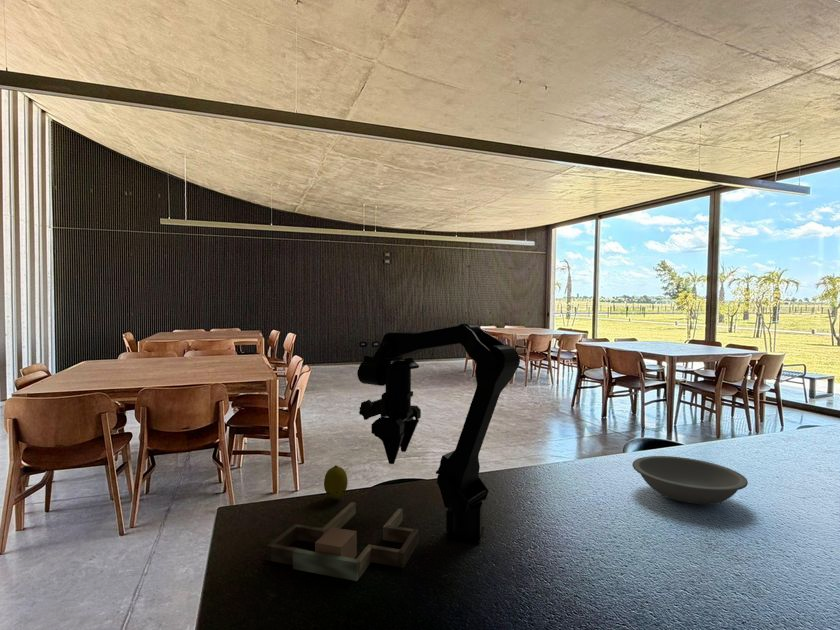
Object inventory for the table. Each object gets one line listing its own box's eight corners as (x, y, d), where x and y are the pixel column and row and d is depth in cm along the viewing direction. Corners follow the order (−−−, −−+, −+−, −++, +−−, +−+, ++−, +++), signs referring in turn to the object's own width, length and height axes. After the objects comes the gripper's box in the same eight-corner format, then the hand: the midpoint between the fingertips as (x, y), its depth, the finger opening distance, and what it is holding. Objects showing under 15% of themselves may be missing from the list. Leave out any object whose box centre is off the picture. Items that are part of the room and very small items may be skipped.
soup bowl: (636, 508, 102) (636, 479, 102) (629, 475, 124) (629, 451, 124) (763, 527, 93) (763, 496, 93) (731, 488, 115) (731, 462, 115)
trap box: (429, 524, 93) (429, 510, 93) (391, 587, 71) (391, 568, 71) (327, 509, 100) (327, 496, 100) (262, 563, 78) (263, 545, 78)
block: (356, 556, 81) (356, 531, 81) (341, 574, 75) (341, 547, 75) (331, 551, 82) (332, 527, 82) (314, 568, 76) (315, 542, 76)
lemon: (342, 504, 103) (342, 470, 103) (319, 502, 104) (320, 468, 104) (350, 495, 108) (351, 462, 108) (329, 493, 109) (329, 461, 109)
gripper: (378, 381, 111) (377, 443, 111) (348, 392, 93) (347, 467, 93) (421, 382, 108) (421, 447, 108) (399, 395, 90) (398, 472, 90)
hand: (397, 457), depth 100 cm, fingers open, 9 cm apart
